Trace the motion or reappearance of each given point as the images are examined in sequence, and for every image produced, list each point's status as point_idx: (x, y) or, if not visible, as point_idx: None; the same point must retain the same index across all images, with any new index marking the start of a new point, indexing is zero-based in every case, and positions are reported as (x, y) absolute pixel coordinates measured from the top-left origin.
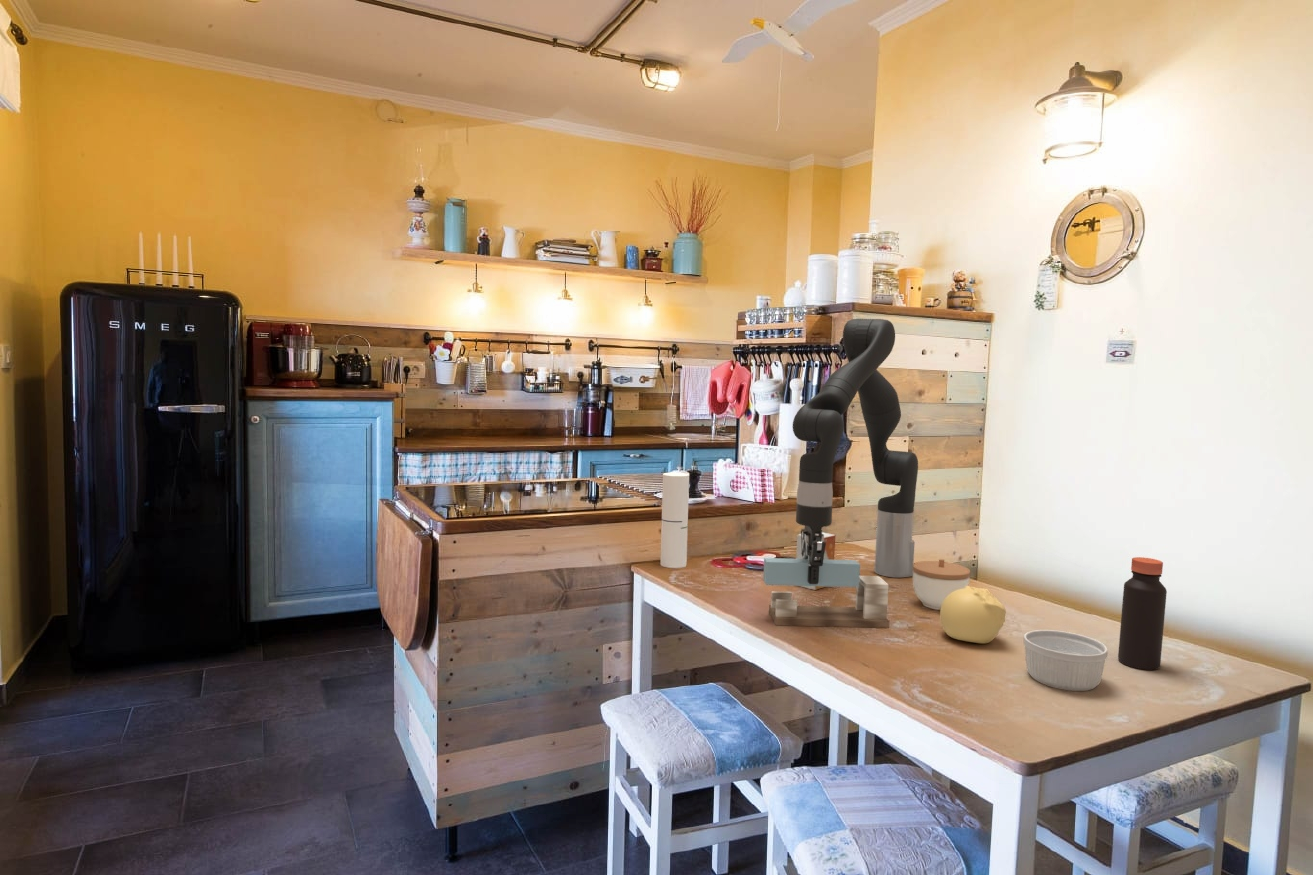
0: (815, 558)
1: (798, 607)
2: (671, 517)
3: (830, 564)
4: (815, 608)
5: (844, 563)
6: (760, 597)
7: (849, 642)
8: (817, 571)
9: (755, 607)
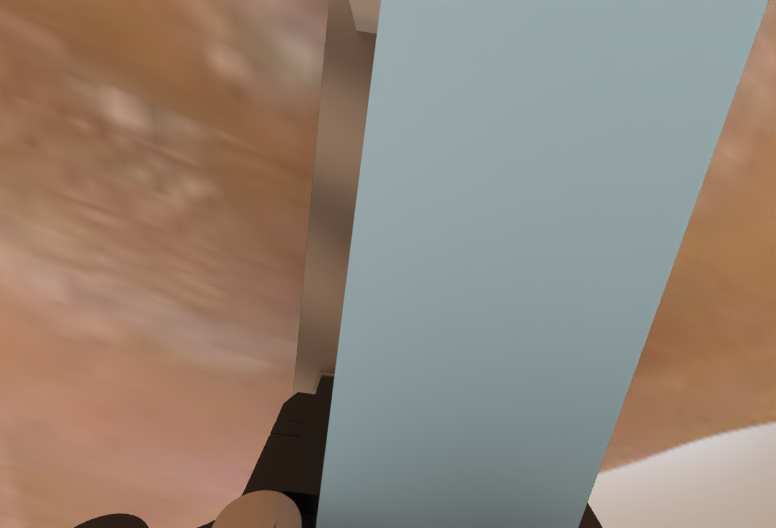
0: (277, 523)
1: (323, 337)
2: None
3: (611, 409)
4: (342, 263)
5: (667, 159)
6: (95, 405)
7: (705, 240)
8: (588, 512)
9: (239, 458)
